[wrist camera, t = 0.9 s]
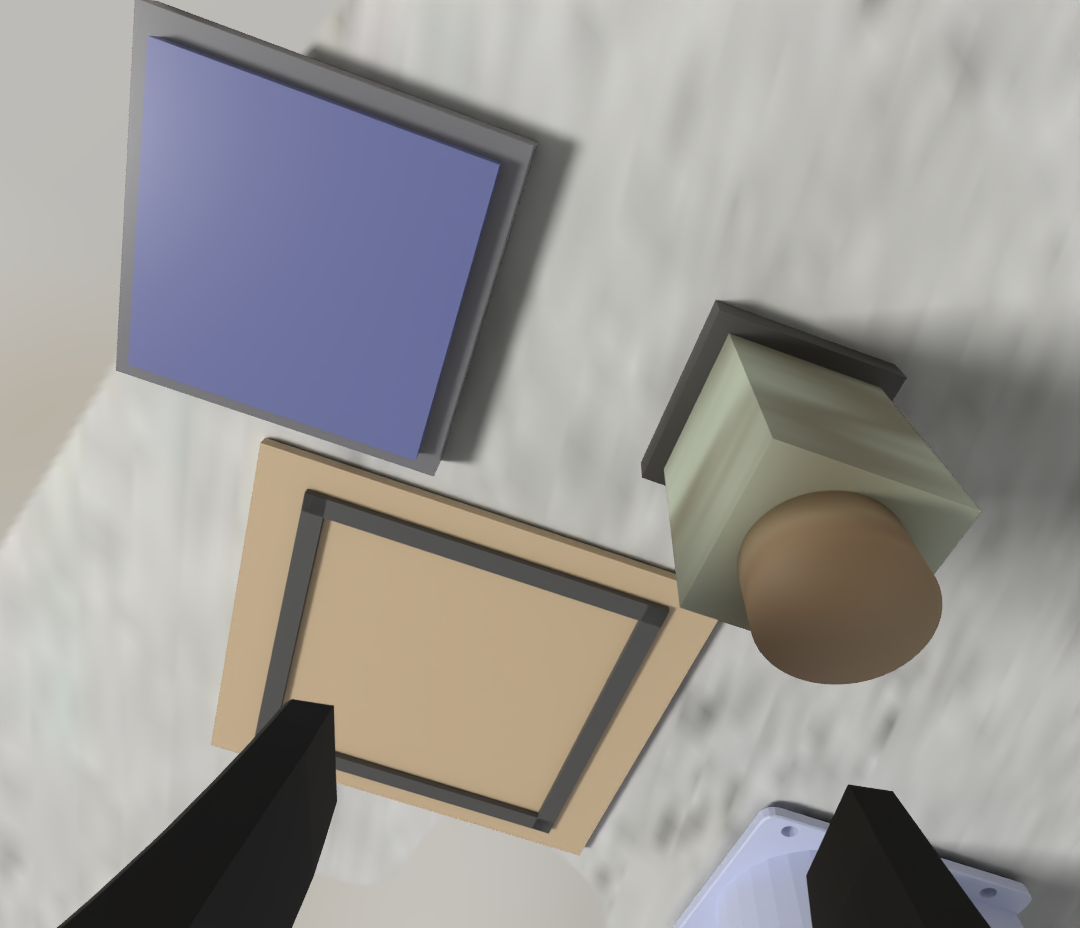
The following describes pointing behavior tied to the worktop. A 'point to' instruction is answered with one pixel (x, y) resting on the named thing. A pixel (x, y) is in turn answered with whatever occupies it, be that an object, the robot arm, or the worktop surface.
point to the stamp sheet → (450, 648)
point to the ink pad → (306, 238)
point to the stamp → (804, 500)
